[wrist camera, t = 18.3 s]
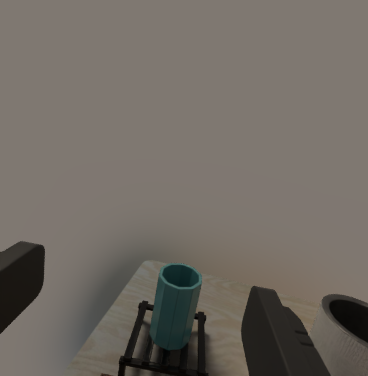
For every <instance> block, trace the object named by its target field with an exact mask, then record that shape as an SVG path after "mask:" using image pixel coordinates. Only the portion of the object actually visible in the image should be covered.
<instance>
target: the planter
mask: <svg viewBox="0 0 368 376" xmlns="http://www.w3.org/2000/svg"><path fill="white" fill-rule="evenodd" d="M309 336H310V338H311V340H312V342H313V343H314V348H316V349H317V351H318V353H319V354H320V356H321V358H322V360H323V362H324V364H325V365H326V367H327V369H328V371H329V373H330V375H331V376H368V303H366V302H363V301H361V300H358V299H356V298H353V297H349V296H345V295H338V294H331V295H327V296H325V297H324V298H323V299H322V302H321V304H320V307H319V310H318V312H317V315H316V318H315V320H314V323H313V326H312V328H311V331H310V334H309Z"/></svg>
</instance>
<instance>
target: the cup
mask: <svg viewBox="0 0 368 376" xmlns="http://www.w3.org/2000/svg"><path fill="white" fill-rule="evenodd" d="M201 284H202V275H201V274H200V273H199V272H198V271H197V270H196V269H195V268H193V267H191V266H188V265H185V264H182V263H171V264H167V265H165V266H163V267H161V270H160V273H159V278H158V284H157V290H156V296H155V302H154V308H153V314H152V320H151V326H150V332H149V334H150V336H151V338H152V339H153V341H154V343H155V344H156V345H158V346H160V347H162V348H164V349H165V350H177V349H181V348H183V347H184V346H185V345H186V344H187V343H188V342H189V340H190V335H191V331H192V326H193V322H194V317H195V312H196V308H197V303H198V298H199V294H200V289H201Z"/></svg>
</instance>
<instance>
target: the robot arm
mask: <svg viewBox="0 0 368 376" xmlns="http://www.w3.org/2000/svg"><path fill="white" fill-rule="evenodd" d="M44 256H45V249H44V247H43V245H39V244H34V243H29V242H23V241H21V242H18V243H16V244H15V245H13V246H11V247H10V248H8V249H6V250H5V251H3V252H0V334H1V333H2V332H3V331H4V330H5V328H7V327H8V325H10V324H11V322H13V320H15V319H16V318H17V316H19V314H21V312H22V311H23V310H25V309H26V307H28V306H29V305H30V303H32V301H33V300H34V299H35V298H36V297H37V296H38V294H39V293H40V291H41V289H42V286H43V281H44V259H45V257H44ZM241 335H242V342H243V347H244V352H245V357H246V362H247V366H248V371H249V376H331V375H330V373H329V371H328V369H327V367H326V365H325V364H324V362H323V360H322V358H321V356H320V354H319V353H318V351H317V349H316V348H314V343H313V342H312V340H311V338H310V336H308V332H307V331H306V329H305V327H304V325H303V323H302V322H301V320H300V319H299V318H298V317H297V316H296V314H295V313H294V312H293V311H292V310H291V309H290V308H289V307H284V306H282V304H281V302H280V299H279V297H278V295H277V293H276V291H275V290H272V289H267V288H261V287H257V286H253V287H252V288H251V291H250V295H249V298H248V302H247V306H246V309H245V313H244V317H243V320H242V328H241Z"/></svg>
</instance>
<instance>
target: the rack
mask: <svg viewBox="0 0 368 376" xmlns="http://www.w3.org/2000/svg"><path fill="white" fill-rule="evenodd" d="M138 308H139V311H138V316H137V319H136V322H135V325H134V328H133V331H132V334H131V337H130V340H129V343H128V346H127V349H126V351H125V354H124V356H121V357H120V360H119V371H118V376H125V369H126V366H130V367H135V368H140V369H145V370H150V371H155V372H160V373H165V374H170V375H175V376H208V373H206V370H205V332H204V324H205V321H206V315H204V312H198V314H197V313H195V317H194V319H197V320H198V369H197V371H195V370H190V369H187V357H188V343H187V344H186V345H185V346H184V347H183V348H181V351H180V363H179V367H175V366H170V365H168V363H169V356H170V350H165V349H164V348H163V353H162V359H161V364H160V363H155V362H150V358H151V354H152V349H153V345H154V341H153V339H152V338H151V336H150V334H149V335H148V339H147V343H146V347H145V351H144V355H143V359H142V360H140V359H135V358H132V355H133V352H134V348H135V345H136V342H137V338H138V335H139V332H140V329H141V325H142V322H143V319H144V315H145V312H146V310H151V311H153V308H154V305H150V304H148V301H142V303H139V307H138Z"/></svg>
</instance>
